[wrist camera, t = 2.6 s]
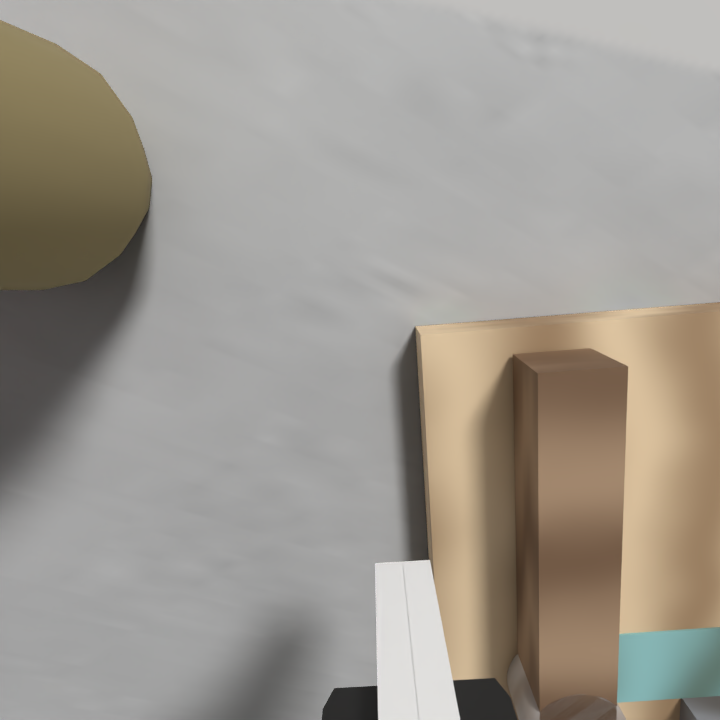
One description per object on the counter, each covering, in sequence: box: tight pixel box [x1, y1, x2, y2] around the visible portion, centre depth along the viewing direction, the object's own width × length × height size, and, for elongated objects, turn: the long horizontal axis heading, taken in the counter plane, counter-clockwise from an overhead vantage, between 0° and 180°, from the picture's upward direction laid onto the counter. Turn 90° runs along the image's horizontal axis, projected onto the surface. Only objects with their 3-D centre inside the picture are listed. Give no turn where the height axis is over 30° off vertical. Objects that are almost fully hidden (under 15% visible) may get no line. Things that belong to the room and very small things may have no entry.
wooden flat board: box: [415, 302, 720, 720], centre depth 22 cm, size 22×20×5 cm
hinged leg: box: [507, 348, 628, 720], centre depth 21 cm, size 17×4×3 cm, turn 5°
